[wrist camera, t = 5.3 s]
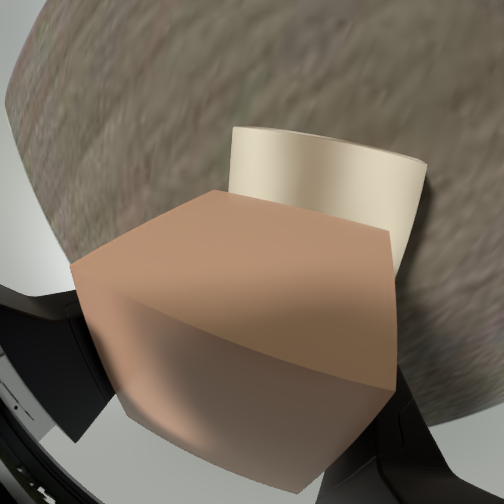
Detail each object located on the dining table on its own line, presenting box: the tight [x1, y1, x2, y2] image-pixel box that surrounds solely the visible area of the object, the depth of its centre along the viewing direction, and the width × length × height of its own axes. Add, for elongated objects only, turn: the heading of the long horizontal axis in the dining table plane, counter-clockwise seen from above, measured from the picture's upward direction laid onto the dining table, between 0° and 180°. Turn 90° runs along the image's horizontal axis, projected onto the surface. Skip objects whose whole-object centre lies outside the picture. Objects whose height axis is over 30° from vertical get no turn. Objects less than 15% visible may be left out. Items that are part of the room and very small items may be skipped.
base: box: [229, 126, 427, 279], centre depth 16 cm, size 10×10×3 cm
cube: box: [70, 190, 397, 494], centre depth 8 cm, size 6×6×6 cm
